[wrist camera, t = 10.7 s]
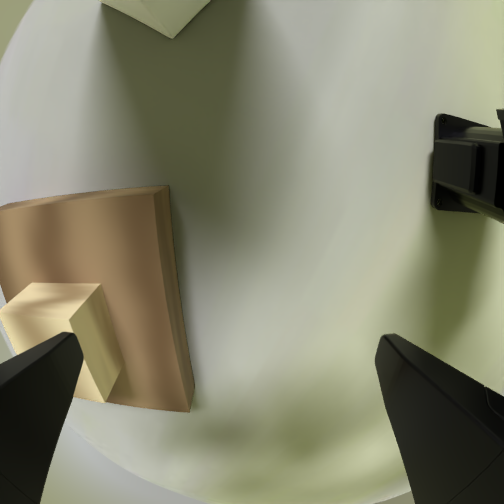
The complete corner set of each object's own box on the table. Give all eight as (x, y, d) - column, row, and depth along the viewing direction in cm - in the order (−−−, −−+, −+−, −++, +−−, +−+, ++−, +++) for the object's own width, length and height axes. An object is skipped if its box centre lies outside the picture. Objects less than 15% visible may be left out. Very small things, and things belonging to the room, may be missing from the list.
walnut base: (168, 185, 17) (153, 194, 14) (194, 385, 23) (189, 412, 20) (7, 203, 17) (-17, 213, 14) (58, 367, 23) (45, 387, 20)
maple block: (100, 283, 16) (68, 319, 12) (124, 361, 18) (105, 402, 14) (31, 282, 16) (-3, 311, 12) (58, 353, 18) (34, 387, 14)
